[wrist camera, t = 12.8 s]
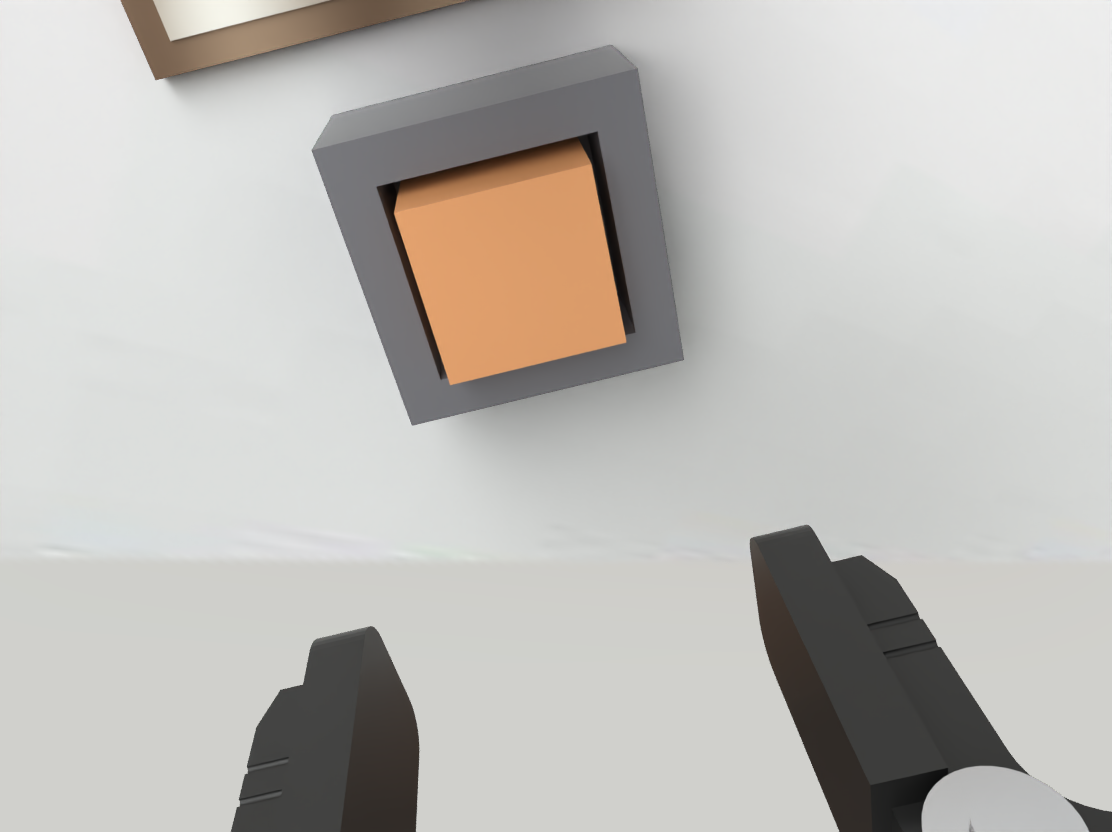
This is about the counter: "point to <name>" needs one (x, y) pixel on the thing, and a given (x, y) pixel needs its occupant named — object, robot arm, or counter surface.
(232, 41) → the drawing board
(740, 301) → the counter surface
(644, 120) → the button housing
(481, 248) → the button
